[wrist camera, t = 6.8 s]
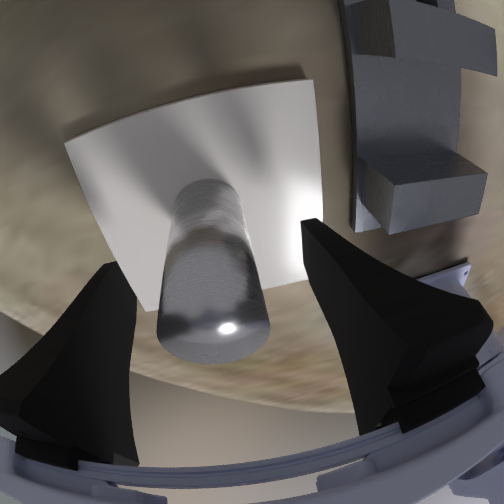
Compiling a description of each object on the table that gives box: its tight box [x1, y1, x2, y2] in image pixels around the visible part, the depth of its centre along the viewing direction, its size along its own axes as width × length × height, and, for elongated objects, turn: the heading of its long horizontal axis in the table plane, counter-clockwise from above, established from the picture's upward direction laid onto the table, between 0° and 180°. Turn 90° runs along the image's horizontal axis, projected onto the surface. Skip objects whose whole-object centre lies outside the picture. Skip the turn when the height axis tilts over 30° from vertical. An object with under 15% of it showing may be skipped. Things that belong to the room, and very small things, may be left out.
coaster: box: [64, 78, 323, 312], centre depth 14 cm, size 11×11×1 cm
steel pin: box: [157, 179, 270, 364], centre depth 11 cm, size 3×3×7 cm
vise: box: [338, 0, 497, 235], centre depth 10 cm, size 16×7×4 cm, turn 9°
